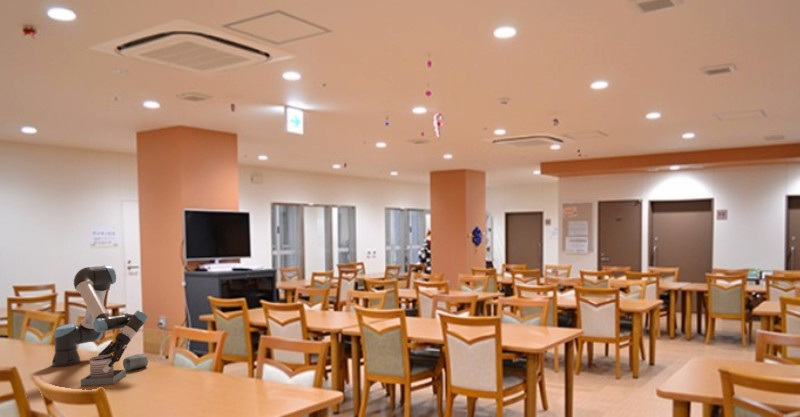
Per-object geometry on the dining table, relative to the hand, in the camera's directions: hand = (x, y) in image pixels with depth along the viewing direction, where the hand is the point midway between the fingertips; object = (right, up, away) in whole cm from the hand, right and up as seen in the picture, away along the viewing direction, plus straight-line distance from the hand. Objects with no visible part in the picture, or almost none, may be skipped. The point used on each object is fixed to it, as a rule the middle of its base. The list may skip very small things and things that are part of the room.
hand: (98, 370), depth 314 cm
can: (+1, -5, +2) cm, 5 cm away
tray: (+2, -6, +2) cm, 7 cm away
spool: (+8, -6, +26) cm, 28 cm away
